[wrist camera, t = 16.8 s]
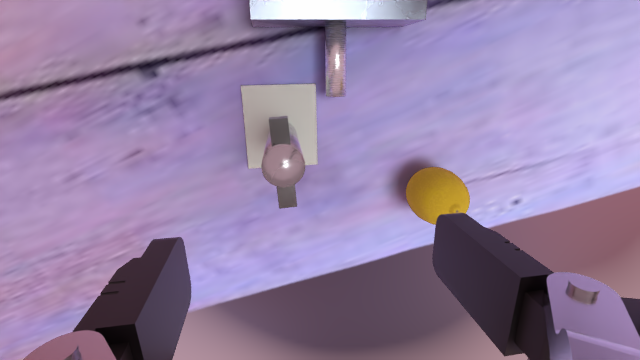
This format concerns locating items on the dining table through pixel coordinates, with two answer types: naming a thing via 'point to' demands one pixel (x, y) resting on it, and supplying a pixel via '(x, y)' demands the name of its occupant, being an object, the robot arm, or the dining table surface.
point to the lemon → (436, 194)
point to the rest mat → (276, 103)
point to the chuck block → (336, 24)
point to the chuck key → (283, 160)
